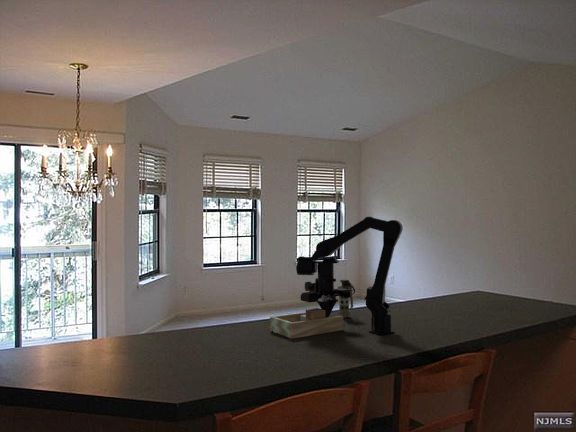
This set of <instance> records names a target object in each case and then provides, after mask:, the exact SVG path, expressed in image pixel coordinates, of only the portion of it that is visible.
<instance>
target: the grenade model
mask: <svg viewBox="0 0 576 432" xmlns="http://www.w3.org/2000/svg"><path fill="white" fill-rule="evenodd" d="M340 282H341V285H339V286H337V289H339V288H343V289H348V290H349V291H350V292H351V297H350V298H344V297H343V296H338V297H339V299H338V303H339V311H338V312H337V316H341V315H342V316H343V319H349V318H350V317H351V315H352V313H351V311H350V310H352V309H353V308H354V300H353V295H354V294H355V293H356V289H355V287H354V285H353V284H352V283H351V282H350V280H349V279H339V283H340Z"/></svg>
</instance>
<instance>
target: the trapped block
mask: <svg viewBox="0 0 576 432" xmlns="http://www.w3.org/2000/svg"><path fill="white" fill-rule="evenodd" d="M300 321H306V315H301V316H300Z"/></svg>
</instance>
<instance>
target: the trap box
mask: <svg viewBox="0 0 576 432" xmlns="http://www.w3.org/2000/svg"><path fill="white" fill-rule="evenodd" d="M301 315H306V311H304V312H297V313H288V314H282V315H275V316H269V325H270V326H269V331H270V332H272V331H273V332H272V333H274V334H277V333H278V335H281V336H282V337H283V336H284V337H287V338H289V339H296V338H304V337H309V336H314V335H316V336H317V335H321V334H327V333H333V332H339V331H344V318H343V316H342V315H341V316H338V315H336V316H329V317H327V318H321V319H314V320H307V321H300V316H301Z"/></svg>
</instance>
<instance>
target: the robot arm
mask: <svg viewBox="0 0 576 432" xmlns="http://www.w3.org/2000/svg"><path fill="white" fill-rule="evenodd" d="M369 229H372V230H376V231H379V232H383V234H382V238H383V239H382V242H383V243H382V245H383V246H382V250H381V253H380V258H379V261H378V265H377V269H376V274H375V278H374V283H373V284H372V286H368V287H367V288H366V296H365V298H364V299H363V300H364V301H365V306H366V308H367V309H368V311H370V312H371V320H370V321H371V322H370V323H371V324H370V325H371V329H369V330H368V333H372V334H376V335H380V336H382V335H383V336H384V335H389V334H394V333H395V330H392V315H391V314H390V313H391V309H392V307H391V306H390V304H388V302H387V301H386V284H387V279H388V276H389V271H390V266H391V263H392V258H393V255H394V250H395V247H396V245H397V243H398V242H399V239H400V237H401V235H402V232H403V229H404V228H403V225H402V223H401V222H400V221H399V220H396V219H392V220H391V219H390V220H385V219H379V218H375V217H373V216H365V217H364V218H363V219H362V220H360V221H359V222H357V223H356V224H354V225H352V226H350V227H349V228H347V229H345V230H344V231H341V232H340V233H339V234H337V235H335V236H332V237H329V238H326V239H324V240H321V241H318V243H317V244H316V247H315V250H314V253H313V254H312V255H311V256H301V255H300V256H298V259H297V262H296V267H295V269H296V270H295V271H296V274H297V275H298V276H314V275H315V273H317V277H316V278H315V281H314V282H313V283H312V282H311V281H305V282H304V290H305V292H301V294H300V301H302V302H306V303H316V304H318V305H319V307H320V309H323V310H325V318H327V317H331V313H332V311H333V309H334V307H335V306H336V304H337V302H339V299H337V297H339V296H343V297H344V298H349V299H350V297H351V292H350V291H349V290H348V289H343V288H339V289H338V288H335V283H336V282H337V279H336V278H334V277H335V275H334V274H335V270H334V268H335V267H334V264H339V263H340V260H339V259H338V258H336V256H335V255H334V256H332V255H333V254H335V253H336V252H337V251H338V250H339V249H340V248H341V247H342V246H343V245H344V244H346V243H348V242H349V241H351V240H353V239H355V238H356V237H358V236H360V235H361V234H363V233H364V232H367V231H368V230H369ZM330 256H331V258H330ZM327 257H329V258H327ZM320 259H322V260H320Z"/></svg>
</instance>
